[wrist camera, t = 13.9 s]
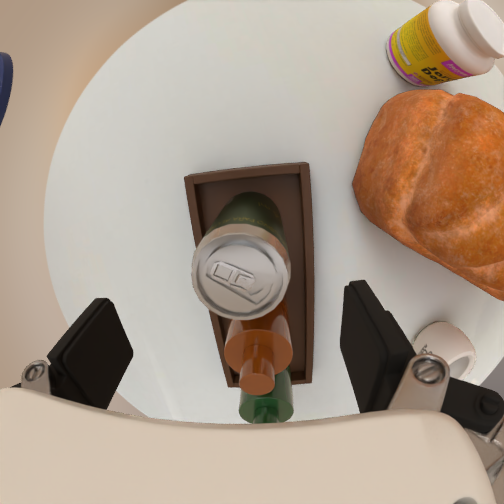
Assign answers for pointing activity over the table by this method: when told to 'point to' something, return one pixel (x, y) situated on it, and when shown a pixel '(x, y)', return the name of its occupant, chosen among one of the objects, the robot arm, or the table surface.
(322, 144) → the table surface
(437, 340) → the mug
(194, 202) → the tray
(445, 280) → the table surface
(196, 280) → the beer can
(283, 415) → the green bottle
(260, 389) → the amber bottle
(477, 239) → the bread
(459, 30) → the supplement bottle
